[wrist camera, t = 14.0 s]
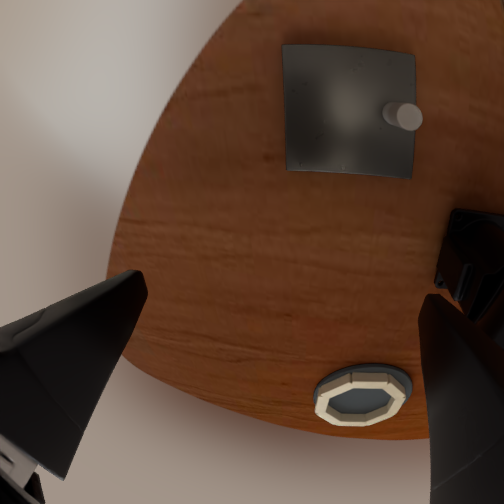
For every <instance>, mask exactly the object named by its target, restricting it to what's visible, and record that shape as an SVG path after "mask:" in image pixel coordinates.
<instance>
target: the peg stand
mask: <svg viewBox="0 0 504 504" xmlns="http://www.w3.org/2000/svg"><path fill="white" fill-rule="evenodd" d="M282 63H283V84H284V108H285V140H286V170H288V171H314V172H333V173H348V174H361V175H373V176H384V177H394V178H403V179H411V178H412V168H413V157H414V144H415V130H416V129H418V128H419V127H420V126H421V124H422V113H421V111H420V109H419V108H418V107H417V106H416V68H415V55H412V54H407V53H401V52H395V51H389V50H382V49H374V48H365V47H355V46H342V45H321V44H284V45H282Z"/></svg>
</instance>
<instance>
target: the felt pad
mask: <svg viewBox="0 0 504 504" xmlns="http://www.w3.org/2000/svg"><path fill="white" fill-rule="evenodd" d="M353 372H362V373H387V375H388V374H391V375H392V376H393V377H394V378H395V379H396V380H397V381H398V382H399V383H400V384H401V385H402V386H403V387H405V394H406V399H405V400H404V402H403V404H404V403H405V402H406V401H407V400H408V398H409V397H410V395H411V392H412V382H411V379H410V377H409V376H408V374H407V373H406V372H404V371H403V370H401V369H399V368H397V367H394V366H390V365H385V364H361V365H355V366H351V367H347V368H344V369H341V370H338V371H336V372H334V373H332V374H330V375H328V376H327V377H325V378H324V379H323V380H322V381H320V383H319V384H318V385H317V387H316V388H315V391H314V397H313V399H314V403H315V405H316V400H317V396H318V391H319V388H321V386H322V385H324V384H327V383H329V382H331V381H333V380H335V379H338V378H340V377H342V376H344V375H346V374H348V373H350V374H351V375H352V373H353ZM391 397H392V396H391V395H389V394H388V393H387V392H386V391H385V390H383V389H367V388H353V389H350V390H348V391H346V392H343V393H341V394H339V395H336V396H334V397H332V398H329V402H328V405H329V406H330V407H332V408H333V409H335V410H336V411H338V412H340V413H342V414H367V413H369V412H372V411H374V410H377V409H379V408H381V407H384V406H386V405H387V404H388V402H389V400H390V398H391ZM403 404H402V405H403ZM402 405H401V406H402Z"/></svg>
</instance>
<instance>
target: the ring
mask: <svg viewBox="0 0 504 504" xmlns="http://www.w3.org/2000/svg"><path fill="white" fill-rule="evenodd" d="M353 388H367V389H383V390H385V391H386V392H387V393H388V394H389V395H391V396H392V397H391V398H390V400H389V402H388V404H387V405H386V406H384V407H381V408H379V409H377V410H374V411H372V412H369V413H367V414H342V413H340V412H338V411H336V410H335V409H333V408H332V407H330V406H329V405H328V402H329V398H332V397H334V396H336V395H339V394H341V393H343V392H346V391H348V390H350V389H353ZM405 399H406V394H405V387H403V386H402V385H401V384H400V383H399V382H398V381H397V380H396V379H395V378H394V377H393V376H392V375H391V374H388V375H387V373H362V372H353V373H352V375H351V374H350V373H348V374H346V375H344V376H342V377H340V378H338V379H335V380H333V381H331V382H329V383H327V384H324V385H322V386H321V388H319V391H318V396H317V400H316V405H315V413H316V415H318V416H320V417H321V418H323V419H325V420H326V421H328V422H330V423H331V424H333V425H336V424H337V426H366V425H371V424H374V423H376V422H379V421H382V420H384V419H387V418H389V417H392V416H394V414H396V413H397V412H398V410H399V408H400V407H401V405H402V404H403V402H404V400H405Z"/></svg>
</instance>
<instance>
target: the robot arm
mask: <svg viewBox="0 0 504 504" xmlns="http://www.w3.org/2000/svg"><path fill="white" fill-rule="evenodd" d="M457 214H459V217H458V218H456V215H457ZM441 280H442V282H440V283H438V282H439V281H441ZM434 284H435V286H436V287H437V288H440V289H448V290H449V292H450V294H451V296H452V298H453V300H454V301H458V303H459V305H460V307H461V309H462V311H463V313H464V314H463V313H462V312H460V311H459V310H458V309H457V308H456V307H455V306H453V305H452V304H451V303H450V302H448V301H447V300H446V299H445V298H444V297H442V296H441V295H440V294H427V295H426V297H425V299H424V302H423V305H422V308H421V311H420V314H419V317H418V326H419V337H420V351H421V365H422V373H423V379H424V387H425V394H426V403H427V412H428V423H429V437H430V459H431V489H430V490H431V492H430V504H504V215H500V214H494V213H488V212H481V211H475V210H468V209H461V208H455V209H454V210H453V211H452V212H451V216H450V221H449V226H448V230H447V234H446V236H445V237H444V239H443V243H442V247H441V251H440V255H439V259H438V263H437V272H436V276H435V279H434ZM147 296H148V290H147V287H146V283H145V280H144V276H143V273H142V272H141V271H139V270H128V271H126V272H123V273H121V274H119V275H117V276H114V277H112V278H110V279H107V280H105V281H103V282H101V283H99V284H96V285H94V286H92V287H89V288H87V289H85V290H83V291H81V292H78V293H76V294H74V295H72V296H70V297H68V298H65V299H63V300H61V301H59V302H57V303H54V304H52V305H50V306H48V307H46V308H44V309H41V310H39V311H37V312H35V313H33V314H31V315H28V316H26V317H24V318H22V319H19V320H17V321H15V322H12V323H10V324H7V325H5V326H3V327H0V504H45V500H44V496H43V491H42V488H41V483H40V478H39V475H38V474H37V473H36V472H34V470H35V469H36V467H37V465H38V464H39V465H40V466H41V467H43V468H44V469H46V470H47V471H49V472H50V473H51V474H53V475H55V476H56V477H58V478H59V479H61V480H62V481H64V479H65V477H66V475H67V473H68V470H69V467H70V465H71V462H72V460H73V457H74V455H75V453H76V450H77V448H78V445H79V443H80V441H81V439H82V436H83V434H84V431H85V429H86V427H87V425H88V422H89V420H90V418H91V416H92V413H93V411H94V409H95V407H96V405H97V403H98V401H99V399H100V396H101V394H102V392H103V390H104V388H105V386H106V384H107V382H108V380H109V378H110V376H111V374H112V372H113V370H114V368H115V366H116V364H117V362H118V360H119V358H120V356H121V354H122V352H123V350H124V348H125V346H126V344H127V342H128V341H129V339H130V337H131V335H132V333H133V330H134V328H135V326H136V323H137V321H138V318H139V316H140V313H141V311H142V309H143V306H144V304H145V302H146V299H147Z"/></svg>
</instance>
